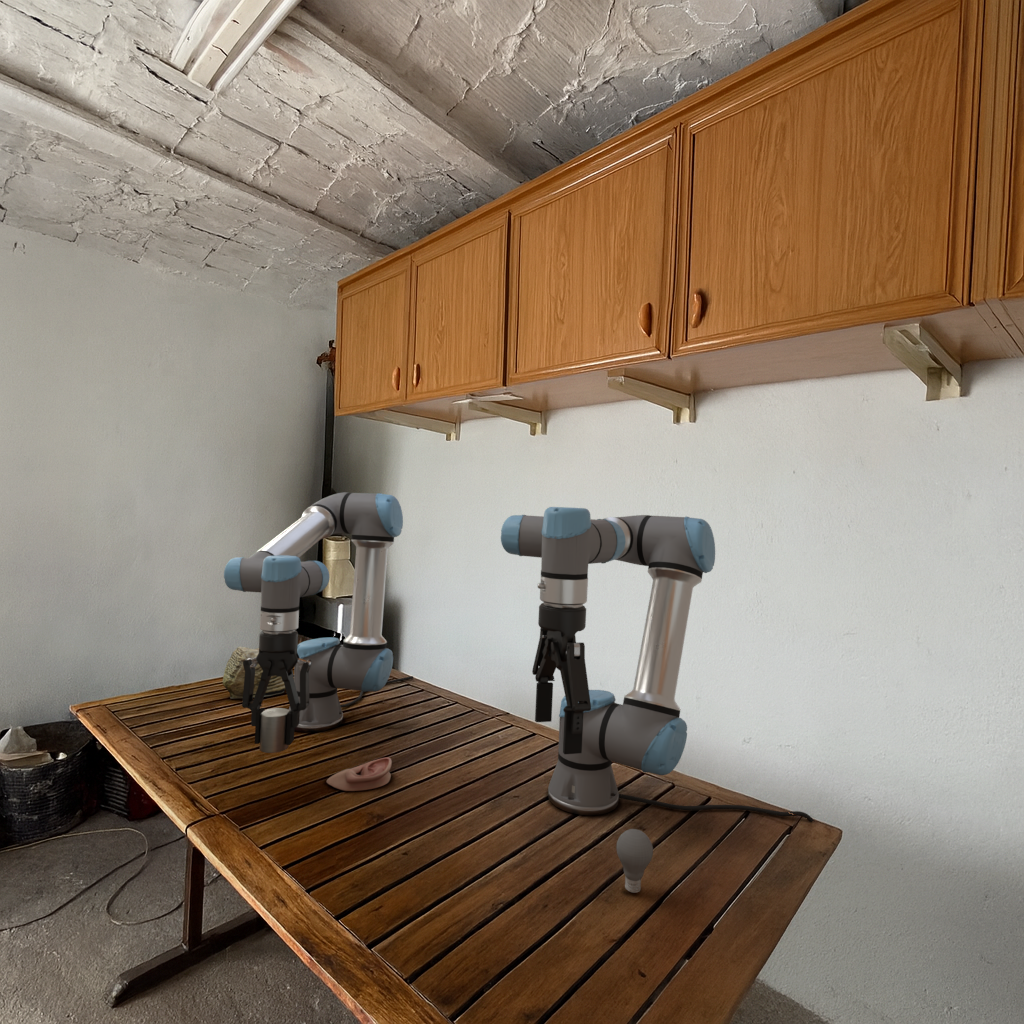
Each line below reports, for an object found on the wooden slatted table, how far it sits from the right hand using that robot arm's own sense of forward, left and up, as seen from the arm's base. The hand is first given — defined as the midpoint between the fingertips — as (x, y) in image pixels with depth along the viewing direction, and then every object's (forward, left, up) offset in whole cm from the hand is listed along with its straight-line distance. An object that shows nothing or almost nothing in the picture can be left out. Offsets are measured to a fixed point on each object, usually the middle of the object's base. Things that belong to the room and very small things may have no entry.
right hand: (556, 736), depth 101 cm
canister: (+46, -44, -16) cm, 65 cm away
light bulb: (-15, 0, -27) cm, 31 cm away
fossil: (+57, -116, -27) cm, 132 cm away
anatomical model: (+28, -50, -27) cm, 63 cm away
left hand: (+46, -44, -15) cm, 65 cm away
